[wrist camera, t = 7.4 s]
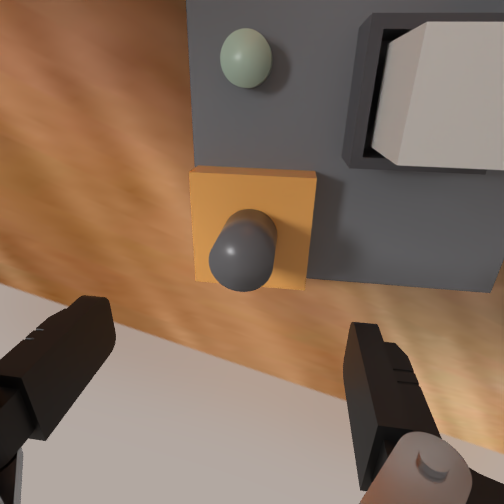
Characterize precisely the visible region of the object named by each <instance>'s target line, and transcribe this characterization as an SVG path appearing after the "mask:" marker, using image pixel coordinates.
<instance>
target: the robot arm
mask: <svg viewBox="0 0 504 504" xmlns="http://www.w3.org/2000/svg"><path fill="white" fill-rule="evenodd" d="M115 340H116V334H115V328H114V322H113V317H112V312H111V307H110V303H109V300H108V299H107V298H105V297H96V296H86V295H83V296H81V297H79V298H78V299H77V300H76V301H75V302H74V303H73V304H71V305H70V306H69V307H68V308H67V309H63V310H62V311H60V312H58V313H56V314H54V315H52V316H50V317H48V318H47V319H46V320H45V321H44V322H43V323H42V324H40V325H39V326H38V327H37V328H36V331H33V332H31V333H30V334H29V335H28V336H27V337H26V339H25V340H22V341H21V342H20V343H19V344H18V345H17V346H15V347H14V348H13V349H12V350H11V351H10V352H8V353H7V354H6V355H5V356H4V357H3V358H2V359H0V504H20V502H21V484H22V468H23V451H22V448H21V446H22V445H23V444H24V443H25V441H26V440H27V439H28V438H30V439H36V440H43V441H46V440H47V438H48V437H49V436H50V434H51V433H52V432H53V430H54V429H55V428H56V426H57V425H58V424H59V422H60V421H61V419H62V418H63V417H64V415H65V414H66V413H67V411H68V410H69V409H70V407H71V406H72V405H73V403H74V402H75V401H76V399H77V398H78V397H79V395H80V394H81V392H82V391H83V390H84V389H85V387H86V386H87V384H88V383H89V382H90V380H91V379H92V378H93V376H94V375H95V374H96V372H97V371H98V370H99V368H100V367H101V366H102V364H103V363H104V362H105V360H106V359H107V358H108V356H109V355H110V353H111V352H112V350H113V348H114V345H115ZM343 379H344V386H345V393H346V400H347V406H348V412H349V419H350V426H351V433H352V439H353V446H354V453H355V459H356V466H357V472H358V479H359V486H360V490H362V491H367V492H366V494H365V495H364V497H363V498H362V500H361V501H360V503H359V504H504V484H502V483H500V482H497V481H495V480H493V479H490V478H488V477H486V476H483V475H481V474H479V473H477V472H476V471H474V470H472V469H471V468H469V467H468V465H467V464H466V462H465V460H464V459H463V457H462V456H461V455H460V454H459V453H458V452H457V451H456V450H455V449H454V448H453V447H452V446H451V445H450V444H448V443H447V442H446V441H444V440H442V438H441V436H440V434H439V431H438V429H437V426H436V424H435V422H434V419H433V417H432V414H431V412H430V409H429V407H428V405H427V402H426V400H425V397H424V395H423V392H422V390H421V388H420V386H419V383H418V380H417V378H416V375H415V374H414V371H413V368H412V366H411V363H410V361H409V358H408V356H407V355H406V354H405V353H404V352H403V351H402V350H401V349H400V348H399V347H398V345H397V344H396V343H390V342H384V341H383V338H382V335H381V332H380V329H379V327H378V325H377V324H369V323H359V322H352V323H351V325H350V329H349V335H348V340H347V345H346V351H345V356H344V363H343Z"/></svg>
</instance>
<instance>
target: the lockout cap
mask: <svg viewBox="0 0 504 504" xmlns="http://www.w3.org/2000/svg"><path fill="white" fill-rule="evenodd" d="M189 183H190V199H191V216H192V232H193V248H194V264H195V281H200V282H212V283H220V284H222V285H223V286H225V287H226V288H228V289H231V290H234V291H240V292H247V291H253V290H256V289H258V288H260V287H271V288H283V289H295V290H305V284H306V275H307V266H308V256H309V247H310V238H311V229H312V219H313V210H314V201H315V192H316V183H317V177H316V172H315V171H305V170H284V169H263V168H242V167H221V166H200V165H198V166H197V167H195V168H194V169H192V170H191V171H190V172H189Z"/></svg>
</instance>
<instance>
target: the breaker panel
mask: <svg viewBox="0 0 504 504" xmlns="http://www.w3.org/2000/svg"><path fill="white" fill-rule="evenodd" d="M186 11H187V30H188V48H189V67H190V86H191V105H192V124H193V142H194V161H195V167H197V166H198V165H200V166H221V167H242V168H263V169H284V170H305V171H315V172H316V177H317V183H316V192H315V201H314V210H313V219H312V229H311V238H310V247H309V256H308V266H307V275H306V278H310V279H323V280H335V281H347V282H360V283H372V284H385V285H397V286H409V287H422V288H434V289H447V290H459V291H472V292H484V293H491V290H492V288H493V285H494V283H495V280H496V278H497V275H498V273H499V270H500V268H501V265H502V263H503V260H504V170H489V169H467V168H445V167H422V166H400V165H396V164H394V163H393V162H391V161H390V160H389V159H387V158H386V157H384V156H383V155H382V154H380V153H379V152H377V151H376V150H375V149H373V148H372V147H370V144H371V138H372V133H373V127H374V121H375V115H376V109H377V104H378V98H379V92H380V86H381V80H382V74H383V69H384V63H385V57H386V51H387V45H388V43H390V42H392V41H393V40H395V39H397V38H399V37H401V36H402V35H404V34H406V33H408V32H409V31H411V30H413V29H415V28H417V27H418V26H420V25H422V24H424V23H425V22H504V0H186Z"/></svg>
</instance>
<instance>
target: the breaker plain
mask: <svg viewBox="0 0 504 504" xmlns="http://www.w3.org/2000/svg"><path fill="white" fill-rule="evenodd" d="M370 147H372V148H373V149H375V150H376V151H377V152H379V153H380V154H382V155H383V156H384V157H386V158H387V159H389V160H390V161H391V162H393V163H394V164H396V165H400V166H422V167H445V168H467V169H489V170H504V22H425V23H424V24H422V25H420V26H418V27H417V28H415V29H413V30H411V31H409V32H408V33H406V34H404V35H402V36H401V37H399V38H397V39H395V40H393V41H392V42H390V43H388V45H387V51H386V57H385V63H384V69H383V74H382V80H381V86H380V92H379V98H378V104H377V109H376V115H375V121H374V127H373V133H372V138H371V144H370Z"/></svg>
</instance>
